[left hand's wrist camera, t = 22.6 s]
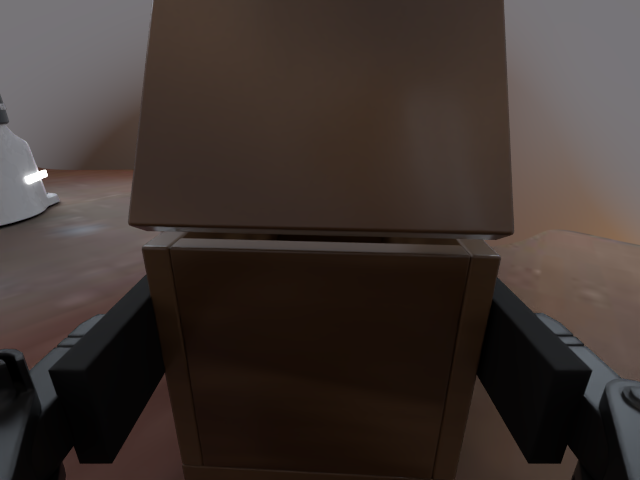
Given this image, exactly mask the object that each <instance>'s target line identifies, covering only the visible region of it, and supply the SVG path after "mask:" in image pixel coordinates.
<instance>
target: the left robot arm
mask: <svg viewBox="0 0 640 480" xmlns="http://www.w3.org/2000/svg"><path fill="white" fill-rule="evenodd" d="M164 373H165V367H164V362H163V357H162V352H161V347H160V342H159V336H158V331H157V326H156V321H155V316H154V311H153V306H152V301H151V295H150V290H149V285H148V279H147V274H146V275H145V276H144V277H143V278H142V279H141V280H140V281H139V282H138V283H137V284H136V285H135V286H134V287H133V288H132V289H131V290H130V291H129V292H128V293H127V294H126V295H125V296H124V297H123V298H122V299H121V300H120V301H119V302H118V303H117V304H116V305H114V306H113V307H112V308H111V309H110V310H109V311H108V312H107V313H106V314H98V315H96V316H94V317H92V318H90V319H89V320H87V321H85V322H83V323H82V324H80V325H79V326H78V327H77V328H76V329H75V330H73V331H72V332H71V333H70V334H69V335H68V338H65V339H64V340H63V341H61V342H60V343H59V344H58V345H57V348H54V349H53V350H52V351H50V352H49V353H48V354H47V355H46V356H45V357H44V358H43V359H42V360H41V361H40V362H38V363H37V364H36V365H35V366H34V367H33V368H32V369H31V370H30V371H29V369H28V366H27V364H26V361H25V358H24V355H23V353H22V352H20V351H18V350H16V349H1V350H0V480H65V478H66V474H65V468H64V465H63V462H62V461H63V460H64V458H65V457H66V456H67V454H68V453H69V451H70V450H71V449H72V447H73V446H74V448H75V451H76V454H77V457H78V460H79V463H80V464H101V463H113V461H114V459H115V458H116V456H117V454H118V452H119V451H120V449H121V447H122V446H123V444H124V442H125V440H126V439H127V437H128V435H129V433H130V432H131V430H132V428H133V427H134V425H135V423H136V421H137V420H138V418H139V416H140V414H141V413H142V411H143V409H144V408H145V406H146V404H147V402H148V401H149V399H150V397H151V396H152V394H153V392H154V390H155V389H156V387H157V385H158V383H159V382H160V380H161V378H162V377H163V375H164ZM477 376H478V377H479V379H480V381H481V383H482V384H483V386H484V388H485V390H486V391H487V393H488V395H489V396H490V398H491V400H492V402H493V403H494V405H495V407H496V408H497V410H498V412H499V414H500V415H501V417H502V419H503V421H504V422H505V424H506V426H507V427H508V429H509V431H510V433H511V434H512V436H513V438H514V440H515V441H516V443H517V445H518V446H519V448H520V450H521V452H522V453H523V455H524V457H525V458H526V460H527V462H528V464H561V461H562V458H563V455H564V452H565V450H566V447H567V445H568V446H569V447H570V449H571V450H572V452H573V453H574V454H575V456H576V457H577V458H578V462H577V465H576V468H575V471H574V473H573V476H572V479H571V480H640V382H638V381H633V380H628V379H622V378H621V377H619V376H618V375H617V374H616V373H615V372H614V371H613V370H612V369H611V368H610V367H608V366H607V365H606V364H605V363H604V362H603V361H602V360H601V359H600V358H599V357H597V356H596V355H595V354H594V353H593V352H592V351H591V350H590V349H589V348H588V347H584V344H583V343H582V342H581V341H580V340H579V339H578V338H577V337H573V334H572V333H571V332H570V331H569V330H568V329H567V328H565V327H564V326H563V325H562V324H561V323H560V322H558V321H556V320H554V319H552V318H551V317H549V316H547V315H545V314H543V313H533V312H532V311H531V310H530V309H529V308H528V307H527V306H526V305H525V304H524V303H523V302H522V301H521V300H520V299H519V298H518V297H517V296H516V295H515V294H514V293H513V292H512V291H511V290H510V289H509V288H508V287H507V286H506V285H505V284H503V283H502V282H501V281H500V280H499V279H498V278H497V280H496V284H495V289H494V294H493V299H492V303H491V308H490V313H489V318H488V322H487V327H486V332H485V337H484V342H483V346H482V351H481V356H480V361H479V365H478V370H477Z"/></svg>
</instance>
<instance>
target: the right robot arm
mask: <svg viewBox="0 0 640 480" xmlns="http://www.w3.org/2000/svg"><path fill="white" fill-rule="evenodd" d="M8 122H9V120H8V117H7V113H6V107H5V104H3V101H2V98H1V96H0V226H1V225H5V224H9V223H13V222H17V221H20V220H23V219H26V218H29V217H32V216H35V215H37V214H39V213H41V212H43V211H44V210H45V209H46V208H47V207H48V206H50V205H52V204H55V203H57V202H59V201H60V200H59V197H58V195H57V194H54V193H46V190H45V188H44V185H43V182H42V178H44V177H46V176H47V172H46V170H43V171H40V172H39V171H38V168H37V166H36V163H35V160H34V158H33V155H32V152H31V150H30V147H29V145H28V143H27V142H26V141H24V140H23V139H21V138H19V137H17V136H16V135H15V134H13V133H12V132H11V131H10V129H9V128H8V127H7V126H6V124H7V123H8Z"/></svg>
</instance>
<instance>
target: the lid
mask: <svg viewBox="0 0 640 480" xmlns="http://www.w3.org/2000/svg"><path fill="white" fill-rule="evenodd" d="M128 223H129V225H130V226H133V227H136V228H139V229H142V230H145V231H166V232H205V233H245V234H284V235H324V236H364V237H403V238H443V239H483V240H497V239H500V238H504V237H507V236H510V235H512V234H513V233H514V218H513V196H512V174H511V152H510V129H509V107H508V85H507V62H506V40H505V19H504V0H152V9H151V18H150V27H149V36H148V45H147V54H146V63H145V73H144V82H143V91H142V100H141V109H140V118H139V127H138V136H137V146H136V155H135V164H134V173H133V182H132V191H131V200H130V209H129V218H128Z"/></svg>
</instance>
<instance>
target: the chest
mask: <svg viewBox="0 0 640 480" xmlns="http://www.w3.org/2000/svg"><path fill="white" fill-rule="evenodd" d="M142 253H143V258H144V264H145V269H146V274H147V279H148V285H149V290H150V295H151V301H152V306H153V311H154V316H155V321H156V326H157V331H158V336H159V342H160V347H161V352H162V357H163V362H164V367H165V375H166V380H167V385H168V390H169V396H170V401H171V406H172V412H173V417H174V422H175V427H176V433H177V438H178V443H179V448H180V454H181V459H182V463H183V465H182V467H183V472H184V477H185V480H454V479H455V475H456V470H457V465H458V461H459V456H460V451H461V446H462V442H463V437H464V432H465V427H466V422H467V418H468V413H469V408H470V403H471V399H472V394H473V389H474V384H475V380H476V375H477V370H478V365H479V361H480V356H481V351H482V346H483V342H484V337H485V332H486V327H487V322H488V318H489V313H490V308H491V303H492V299H493V294H494V289H495V284H496V280H497V275H498V270H499V265H500V261H501V257H500V255H498V254H497V253H496V252H495V251H494V250H493V249H492V248H491V247H490V246H489V245H488V244H487V243H486V242H485V241H484V240H483V239H443V238H403V237H364V236H324V235H284V234H245V233H205V232H166V231H163V232H162V233H160V234H159V235H158V236H156V237H155V238H154V239H152V240H151V241H149V242H148V243H147V244H145V245H144V246H143V247H142Z"/></svg>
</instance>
